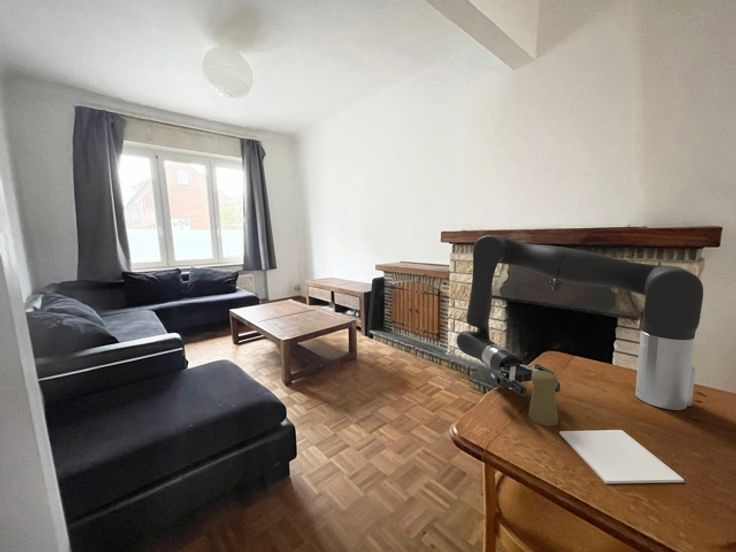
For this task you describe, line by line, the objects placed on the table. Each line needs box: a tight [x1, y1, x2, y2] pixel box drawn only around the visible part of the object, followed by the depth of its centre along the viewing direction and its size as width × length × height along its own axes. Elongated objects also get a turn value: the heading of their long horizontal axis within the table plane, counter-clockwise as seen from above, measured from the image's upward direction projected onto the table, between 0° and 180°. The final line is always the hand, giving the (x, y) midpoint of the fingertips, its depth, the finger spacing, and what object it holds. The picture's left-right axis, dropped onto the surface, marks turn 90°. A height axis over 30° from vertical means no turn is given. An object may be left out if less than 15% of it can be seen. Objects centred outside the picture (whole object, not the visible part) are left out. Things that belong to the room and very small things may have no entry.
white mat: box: [559, 429, 685, 484], centre depth 58 cm, size 13×13×1 cm
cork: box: [527, 371, 559, 427], centre depth 69 cm, size 6×6×11 cm
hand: (542, 390), depth 69 cm, fingers open, 8 cm apart
